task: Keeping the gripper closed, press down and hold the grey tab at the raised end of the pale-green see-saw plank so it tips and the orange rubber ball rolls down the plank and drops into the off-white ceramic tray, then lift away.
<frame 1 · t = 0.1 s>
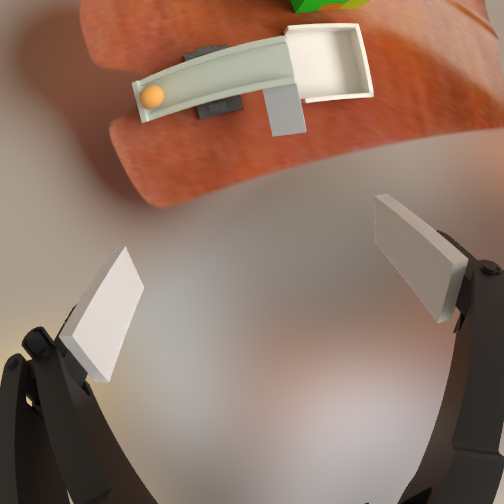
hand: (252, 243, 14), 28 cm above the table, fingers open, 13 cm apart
ball: (151, 96, 30), point 4 cm above the table, tilted 29°, touching lever
fulcrum: (213, 81, 33), on the table
tray: (325, 63, 32), on the table
lever: (213, 100, 30), point 5 cm above the table, hinge at -17.0°, touching ball
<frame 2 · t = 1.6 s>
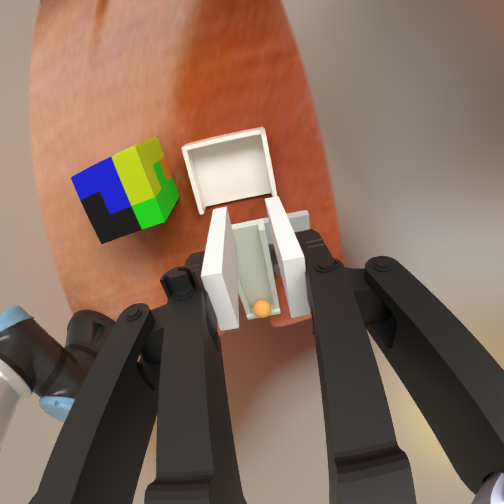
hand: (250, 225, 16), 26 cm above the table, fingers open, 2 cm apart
ball: (262, 308, 48), point 4 cm above the table, tilted 29°, touching lever
fulcrum: (252, 259, 48), on the table
puzzle toy: (140, 177, 40), on the table
tray: (230, 167, 40), on the table
lever: (273, 273, 44), point 5 cm above the table, hinge at -17.0°, touching ball
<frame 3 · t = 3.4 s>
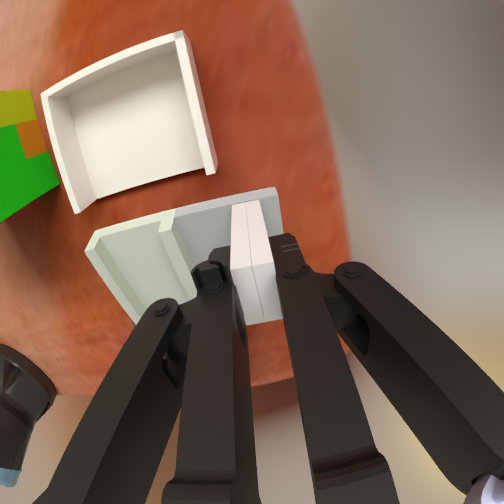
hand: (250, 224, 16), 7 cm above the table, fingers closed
puzzle toy: (12, 158, 18), on the table
tray: (133, 122, 18), on the table
lever: (218, 324, 22), point 5 cm above the table, hinge at -11.5°, touching ball, gripper
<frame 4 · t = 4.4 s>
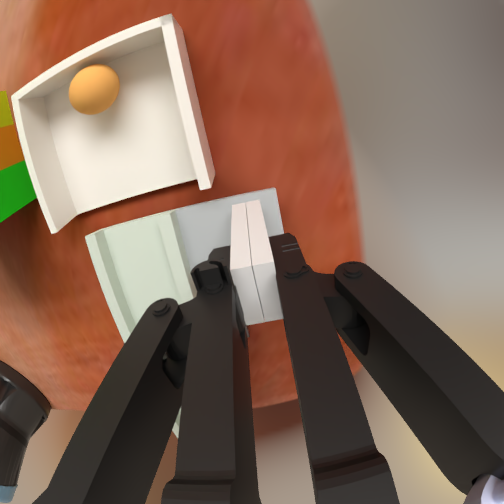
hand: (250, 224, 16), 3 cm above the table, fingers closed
ball: (94, 89, 12), point 2 cm above the table, tilted 100°, touching tray
tray: (116, 125, 15), on the table
lever: (215, 354, 19), point 5 cm above the table, hinge at 12.8°, touching gripper
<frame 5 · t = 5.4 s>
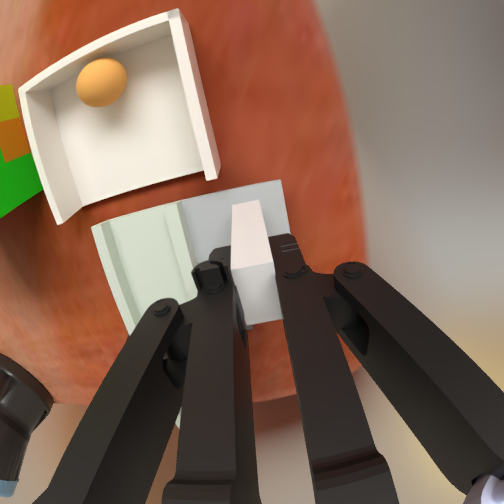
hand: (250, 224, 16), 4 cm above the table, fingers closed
ball: (101, 82, 12), point 2 cm above the table, tilted 101°, touching tray
tray: (123, 117, 16), on the table
lever: (219, 345, 19), point 5 cm above the table, hinge at 12.9°
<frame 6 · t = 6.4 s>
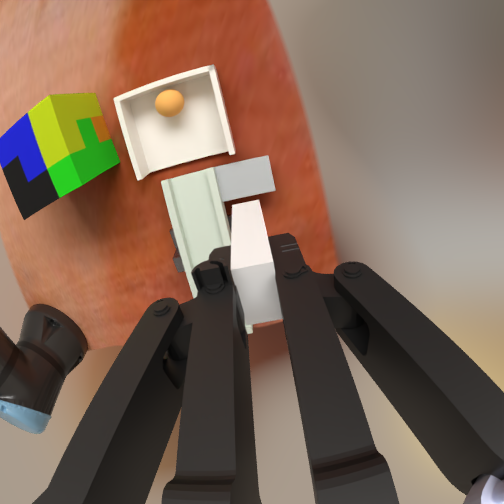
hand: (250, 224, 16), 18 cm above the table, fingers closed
ball: (169, 103, 26), point 2 cm above the table, tilted 111°, touching tray
puzzle toy: (78, 143, 29), on the table
tray: (178, 120, 29), on the table
lever: (234, 253, 32), point 5 cm above the table, hinge at 12.9°
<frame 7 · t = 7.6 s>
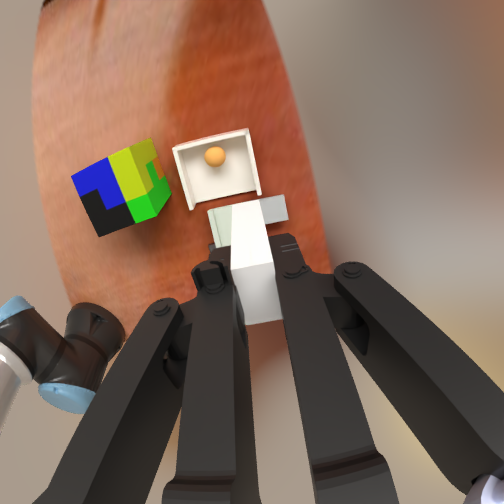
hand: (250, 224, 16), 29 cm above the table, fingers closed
ball: (215, 156, 40), point 2 cm above the table, tilted 123°, touching tray
puzzle toy: (135, 175, 43), on the table
tray: (218, 166, 43), on the table
lever: (258, 263, 46), point 5 cm above the table, hinge at 12.9°
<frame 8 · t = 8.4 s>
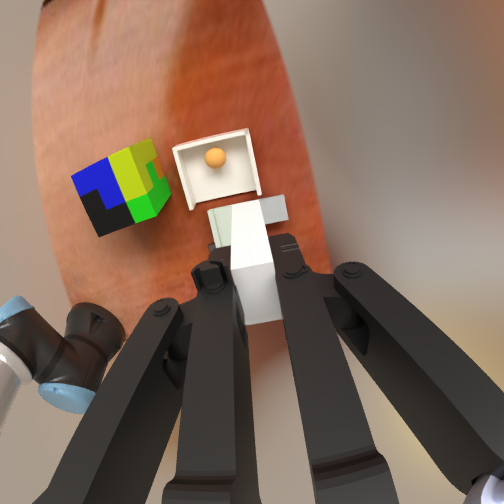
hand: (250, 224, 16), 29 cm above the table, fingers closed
ball: (215, 158, 40), point 2 cm above the table, tilted 131°, touching tray
puzzle toy: (135, 175, 43), on the table
tray: (218, 166, 43), on the table
lever: (258, 263, 46), point 5 cm above the table, hinge at 12.9°
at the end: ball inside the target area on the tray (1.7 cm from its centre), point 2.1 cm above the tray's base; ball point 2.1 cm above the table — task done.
